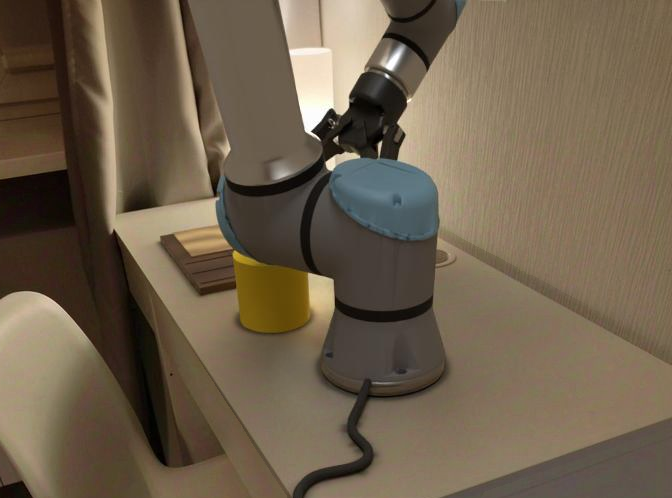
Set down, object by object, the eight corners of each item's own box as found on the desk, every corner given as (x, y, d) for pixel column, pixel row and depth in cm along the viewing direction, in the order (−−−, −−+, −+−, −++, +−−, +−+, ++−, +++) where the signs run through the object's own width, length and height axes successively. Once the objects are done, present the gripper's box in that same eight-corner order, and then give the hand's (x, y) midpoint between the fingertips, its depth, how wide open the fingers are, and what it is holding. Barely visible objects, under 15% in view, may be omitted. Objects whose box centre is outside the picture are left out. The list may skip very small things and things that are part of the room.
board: (303, 273, 115) (303, 265, 114) (200, 295, 110) (199, 286, 110) (250, 225, 134) (249, 218, 134) (160, 242, 130) (159, 234, 129)
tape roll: (275, 296, 109) (270, 233, 103) (324, 313, 103) (322, 248, 97) (225, 319, 103) (217, 255, 98) (274, 339, 98) (268, 272, 92)
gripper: (468, 118, 92) (381, 265, 94) (340, 95, 108) (268, 221, 110) (442, 78, 87) (350, 235, 89) (311, 59, 102) (235, 193, 104)
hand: (304, 227), depth 99 cm, fingers open, 13 cm apart
